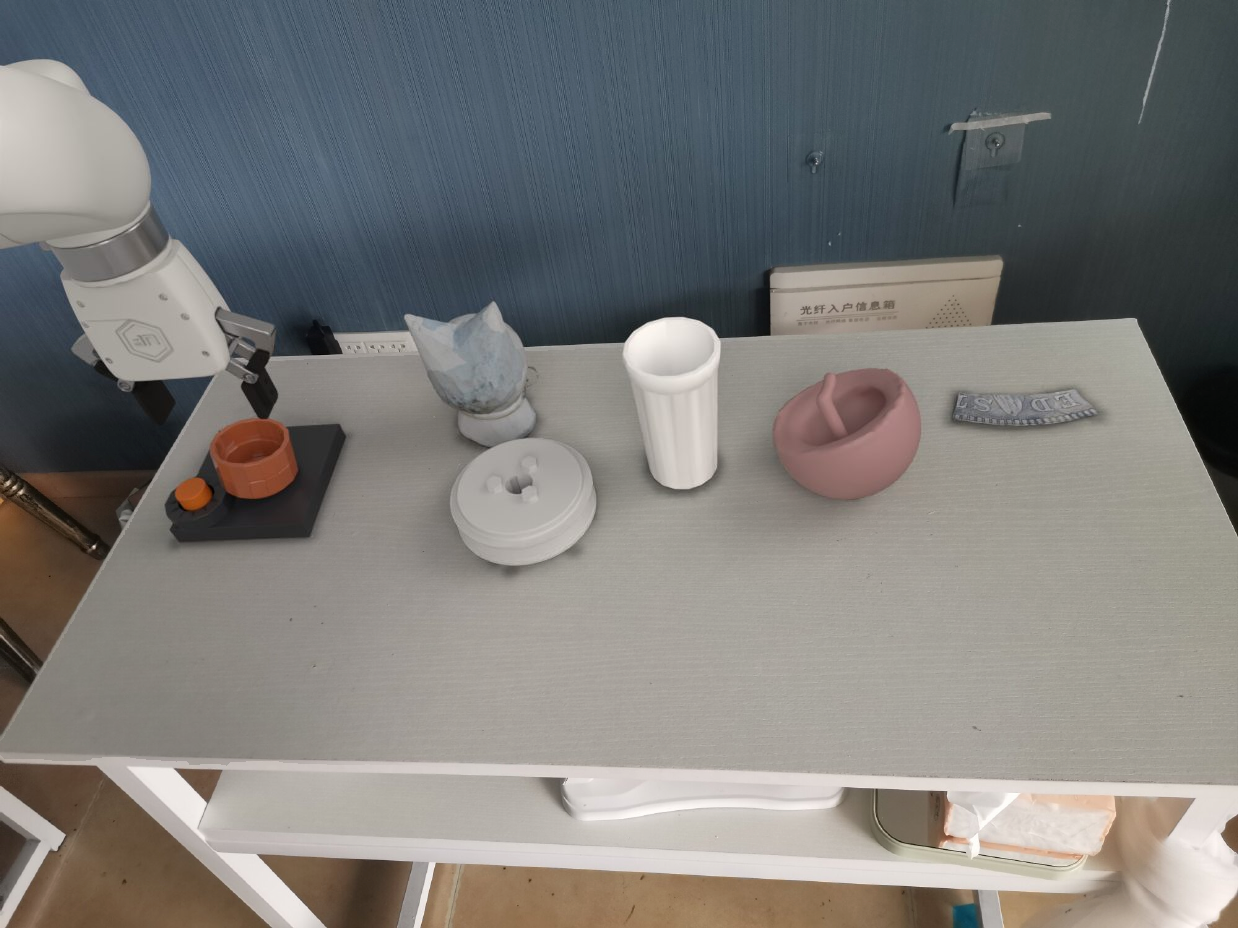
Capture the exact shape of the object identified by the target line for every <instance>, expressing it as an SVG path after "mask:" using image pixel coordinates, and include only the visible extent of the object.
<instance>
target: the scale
mask: <svg viewBox="0 0 1238 928" xmlns="http://www.w3.org/2000/svg"><path fill="white" fill-rule="evenodd" d="M285 427H286V428H287V429H288V431H289V434H290V438H291V441H292V445H293V449H294V452H295V456H296V459H297V464H298V472H297V474H296V476H295V478H294V480H293V481H292V482H291V483H290V484H289V485H288V486H286V487H285V488H284V489H283V490H281V491H280V492H278V493H276V494H274V495H271V496H268V497H265V498H259V499H246V498H240V497H236V496H234V495H232V494H229V493H228V492H227V491H226V490H225V489H224V488H223V486H222V485H221V482H220V480H219V477H218V474H217V471H216V469H215V466H214V463H213V461H212V458H211V455H210V449H208V452H207V454H206V456H205V458H204V460H203V462H202V464H201V466H200V468H199V470H198V472H197V474H196V475H195V476H193V477H192V478H201V479H203V480H204V481H205V482H206V484H207V485H208V487H209V488H210V489H211V491H212V499H211V500H210V501H209V502H208V503H207V504H206V505H205V506H204V507H202V508H199V509H197V510H194V511H189V510H186V509H184V508H183V506H182V505H181V504H180V502H179V501H178V500H177V498H176V497H175V491H176V489H177V487H175V488H174V489H173V490H171V491H170V493H169V495H168V497H167V499H166V501H165V503H164V510H165V515H166V517H167V518H168V519H169V521H170V522H171V523H172V524H171V526H170V528H169V531H170V533H171V534H172V535H173V536H174V538H175V539H176V540H177V542H178V543H194V542H197V543H198V542H217V541H218V542H219V541H221V542H222V541H242V540H243V541H244V540H266V539H269V540H270V539H291V538H294V539H295V538H310V536H311V533H312V532H313V528H314V526H315V523H316V520H317V518H318V515H319V513H320V510H321V506H322V503H323V501H324V498H325V495H326V494H327V493H326V492H327V490H328V487H329V484H330V481H331V479H332V476H333V473H334V471H335V467H336V465H337V462H338V459H339V457H340V454H341V451H342V448H343V446H344V443H345V440H346V437H347V436H346V434H345V432H344V430H343V428H342V426H341V424H340V423H326V424H308V425H291V426H285ZM221 430H222V429H221ZM221 430H220V429H219V430H218V432H220V431H221Z"/></svg>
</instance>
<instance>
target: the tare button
mask: <svg viewBox="0 0 1238 928" xmlns="http://www.w3.org/2000/svg"><path fill="white" fill-rule="evenodd" d="M176 488H177V489H176ZM176 488H175V489H176V491H175V497H176V498H177V500H178V501H179V502H180V504H181V505H182V506H183V508H184V509H186V510H189V511H194V510H197V509H199V508H202V507H204V506H205V505H206V504H207V503H208V502H209V501H210V500H211V499H212V491H211V489H210V488H209V487H208V485H207V484H206V482H205V481H204V480H203V479H201V478H193V477H191V478H188V479H185V480H184V481H182V482H181V483H180V484H179V485H178V486H177V487H176Z"/></svg>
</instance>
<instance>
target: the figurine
mask: <svg viewBox="0 0 1238 928" xmlns="http://www.w3.org/2000/svg"><path fill="white" fill-rule="evenodd" d="M403 319H404V321H405V324H406V326H407V329H408V332H409V334H410V336H411V338H412V340H413V342H414V344H415V348H416V349H417V351H418V354H419V356H420V358H421V361H422V364H423V366H424V369H425V371H426V374H427V377H428V380H429V382H430V384H431V386H432V387H433V389H434V390H435V391H434V392H436V394H437V397H439V398H440V399H441V401H442V402H444V403H445V404H446V405H448V406H450V407H451V408H453V409H457V410H458V413H457V427H458V429H459V430H460V433H461V434H462V436H463V437H464V438H465V439H466V440H469V441H473V442H475V443H477V444H479V446H483V447H484V448H485V447H486V448H492V447H494V446H497V445H499V444H502V443H505V442H508V441H512V440H516V439H523V438H528V436H529V435H531V434H532V433H533V432H534V430H535V427H536V425H537V414H536V412H535V410H534V409H533V407H532V406H531V404H530V403H529V401H528V399H527V397H526V394H527V388H528V387H532V386H534V385H535V384H536V383H537V382H538V381H539V379H540V374H539V371H538V370H537V368H536V367H534V366H530V365H529V363H528V357H527V352H526V350H525V347H524V345H523V342H522V340H521V338H520V337H519V335H518V333H517V332H516V331H515V330H514V329H513V328H512V327H511V326H510V325H509V324H508V323H506V322H505V321H504V319H503V316H502V313H501V311H500V309H499V306H498V305H497V303H496V302H495V301H494V300H492V301H491V302H490V303H489V304H488V305H486V306H485V307H484V308H482V309H481V310H479V312H477V313H466V314H464V315H460V316H457V317H454V318H453V319H451V320H449V321H448V322H444V321H441V320H440V321H439V320H436V319H431V318H427V317H422V316H419V315H418V316H416V315H413V314H411V313H406V314H404V315H403ZM528 369H531V370H533V371H534V372H535V373H536V380H535V382H533V383H530V384H527V383H528V382H529V378H527V377H528Z"/></svg>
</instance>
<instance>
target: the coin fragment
mask: <svg viewBox="0 0 1238 928" xmlns="http://www.w3.org/2000/svg"><path fill="white" fill-rule="evenodd" d="M1100 413H1101V411H1099V410H1097V409H1096V408H1095V407H1094V406H1093V405H1092V404H1090V403H1089V402H1088V401H1087V400H1085V399H1084V398H1083V397H1082V396H1081V395H1080V393H1078V391H1077V390H1076V389H1075V388H1073V389H1068V390H1067V389H1066V390H1061V391H1056V392H1049V393H1048V392H1047V393H1036V394H1028V395H1018V394H1015V395H1011V394H988V393H987V394H986V393H985V394H977V393H966V392H961V391H959V392H958V397H957V402H956V406H955V409H954V410H953V414H952V420H958V421H966V422H971V423H978V424H980V423H982V424H986V425H987V424H988V425H996V426H1016V427H1017V426H1031V425H1032V426H1037V425H1050V424H1051V425H1052V424H1059V423H1063V422H1070V421H1074V420H1078V419H1081V418H1084V417H1089V416H1093V415H1096V414H1100Z"/></svg>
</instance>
